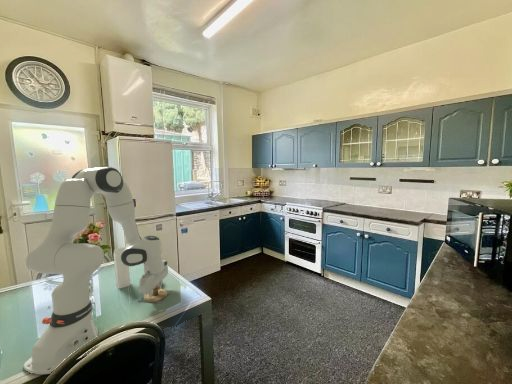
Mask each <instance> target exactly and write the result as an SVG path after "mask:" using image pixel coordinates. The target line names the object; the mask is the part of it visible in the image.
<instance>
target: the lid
mask: <svg viewBox="0 0 512 384" xmlns="http://www.w3.org/2000/svg"><path fill="white" fill-rule="evenodd" d="M166 290H167V289H163V288H161V289H160V290H158V287H154V288H153V290H152V293H154V294H153V295H154V296H153V297H149V294H143V297H144V300H145V301H146V302H157V301H160V300H162V299H164V298H165V297H166V296H167V291H166ZM167 297H168V296H167ZM167 297H166V298H167ZM166 298H165V299H166ZM165 299H164V300H165Z"/></svg>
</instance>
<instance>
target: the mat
mask: <svg viewBox="0 0 512 384" xmlns="http://www.w3.org/2000/svg"><path fill="white" fill-rule="evenodd" d="M152 290H153V289H152ZM165 290H166V291H167V296H166V297H165V298H164V299H162V300H160V301H157V302H146V301H145V300H144V296H142V297H141V298H140V299H139V300H138V301H137V303H147V304H157V305H160V304H162V303H163V301H164V300H165V299H166V298H167V297H168V296H169V295H170V294H171V293H173V290H170V289H165Z"/></svg>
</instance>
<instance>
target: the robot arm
mask: <svg viewBox="0 0 512 384" xmlns="http://www.w3.org/2000/svg"><path fill="white" fill-rule="evenodd" d="M128 185H129V184H128V183H126V181H124V179H123V176H122V174H121V173H120V172H119V170H118V169H117V168H115V167H112V166H104V167H91V168H90V167H89V168H85V169H81V170H78V171H77V172H75V173H74V174H73V175H72V177H71V178H70V179H66V180H64V181H62V182H61V183H60V185H59V188H58V191H57V194H56V198H55V202H54V207H53V208H54V209H53V214H52V220H51V225H50V227H49V230H48V232H47V234H46V236H45V237H44V238H43V240H42V241H41V242H40V243H39V244H38V245H36V246H35V247H34V248H32V249H31V250H30V251H29V252H28V254H27V256H26V259H25V261H26V262H25V263H26V267H27V269H28V270H29V271H31V272H33V273H37V274H38V273H39V274H43V275H50V274H51V275H58V274H59V275H60V274H61V275H62V277H63V281H62V282H61V283H58V284H57V285H56V286H55V287H54V289H53V290H52V292H51V302H52V308H53V309H52V310H53V311H52V313H51V317H43V319H42V320H41V324H43V325H48V326H47V327H46V329H45V330H44V332H43V333H42V334H41V335H40V337H38V340H37V341H36V342H35V343H34V344H33V347H32V352H31V356H30V358H29V359H27V361H25V362H24V363H23V370H24V371H25V370H26V371H28V372H27V373H29V372H33V373H36V374H35V375H49V374H52V373H51V372H52V371H53V370H54V369H55V368H56V367H57V366H58V365H59V364H60V363H61V362H62V361H63V360H64V359H65V358H67V357H68V356H69V355H70V354H71V353H73V352H74V351H76V350H77V349H78V348H80V347H81V346H83V345H84V344H86V343H87V342H89V341H90V340H92V339H94V338H95V337H97V336H98V335H99V329H98V328H97V326H96V324H95V321H94V317H93V314H92V310H93V305H92V300H91V298H90V288H89V286H90V285H89V284H90V280H91V277H92V275H93V274H94V273H95V272H96V271H97V270H99V268H100V267H101V265H103V262H104V259H105V253H104V250H103V248H102V247H101V246H99V245H96V244H91V243H87V242H86V243H74V241H75V239H76V238H77V236H78V235H79V234H80V233H82V232H84V231H85V230H86V229H88V226H89V222H90V213H91V203H92V201H91V200H92V197H93V195H94V194H102V195H103V197H104V199H105V204H106V208H107V211H108V214H109V217H110V218H111V220H112V221H114V222H115V223H118V224H120V226H121V227H122V230H123V233H124V237H125V246H124V247H125V249H124V250H123V252H122V255H121V261H122V262H123V263H124V264H125V265H127V266H129V267H134V266H139V265H141V264H143V272H144V274H143V275H142V276H141V278H140V279H139V287H138V291H139V294H140V295H145V294H149V297H153V296H154V295H153V294H154V293H152V289H153V288H154V287H155V286H156V285H157V284H158V286H157V287H158V290H160V289H162V284H163V280H164V279H166V277H167V276H168V274H169V266H168V265H169V261H168V259H166V260H165V259H163V257H162V254H163V248H162V247H163V246H162V243H161V239H160V238H159V237H158V236H155V235H146V236H144V237H143V238H142V237H141V236H140V233H139V229H138V226H137V222H136V210H135V202H134V198H133V196H132V193H131V190H130V187H129V186H128ZM26 371H25V372H26Z"/></svg>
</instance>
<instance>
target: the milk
mask: <svg viewBox="0 0 512 384" xmlns="http://www.w3.org/2000/svg"><path fill="white" fill-rule="evenodd" d="M124 249H125V246H123V247H118V248H115V249H114V251H113V263H114V264H113V266H114V274H115V286H116V287H117V288H118V290H120V289H123V288H126V287H130V286H131V274H130V273H131V272H130V266H127V265H125V264H124V263H123V262H122V261H121V255H122V252H123V250H124Z"/></svg>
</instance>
